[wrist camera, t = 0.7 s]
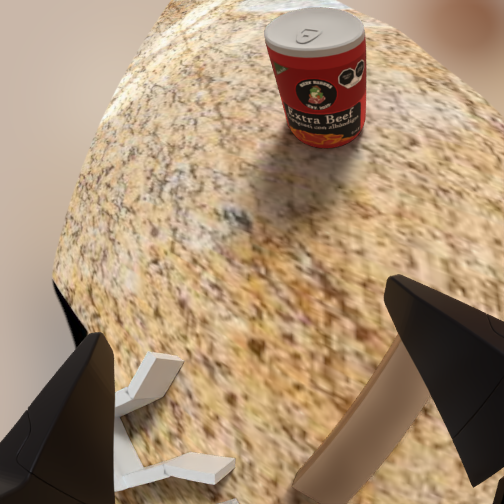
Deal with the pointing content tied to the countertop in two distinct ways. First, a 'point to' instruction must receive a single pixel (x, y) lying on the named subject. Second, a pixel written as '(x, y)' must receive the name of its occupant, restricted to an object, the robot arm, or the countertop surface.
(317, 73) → the canned food
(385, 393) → the slat
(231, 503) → the end cap
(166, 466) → the end cap
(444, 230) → the countertop surface
